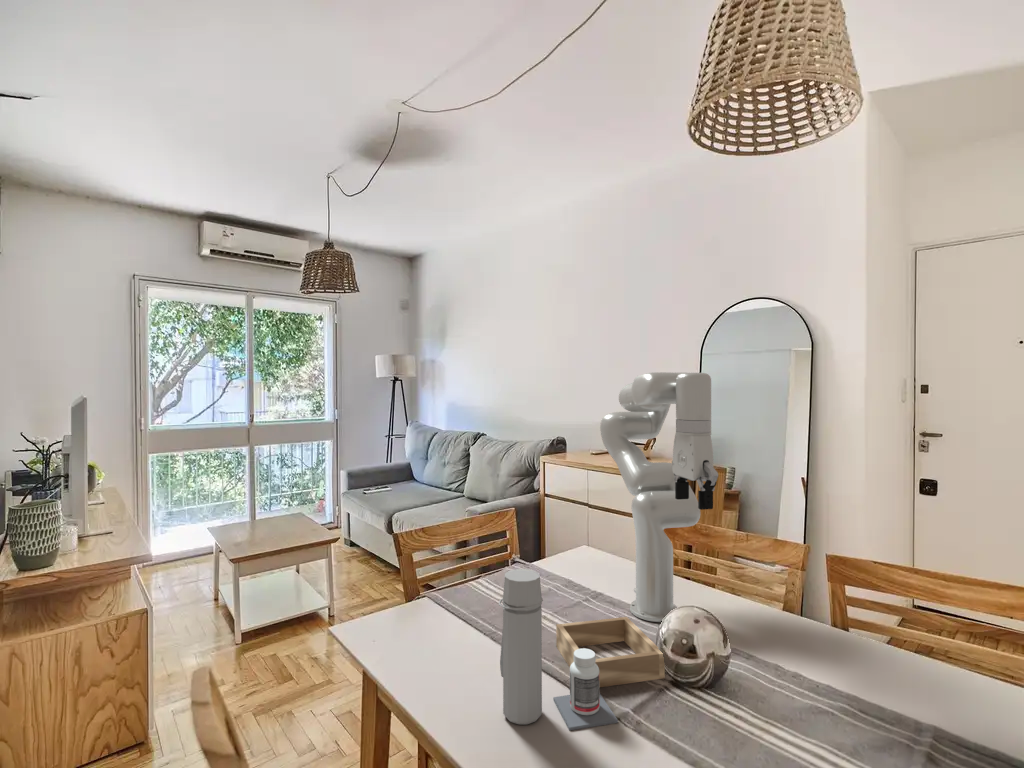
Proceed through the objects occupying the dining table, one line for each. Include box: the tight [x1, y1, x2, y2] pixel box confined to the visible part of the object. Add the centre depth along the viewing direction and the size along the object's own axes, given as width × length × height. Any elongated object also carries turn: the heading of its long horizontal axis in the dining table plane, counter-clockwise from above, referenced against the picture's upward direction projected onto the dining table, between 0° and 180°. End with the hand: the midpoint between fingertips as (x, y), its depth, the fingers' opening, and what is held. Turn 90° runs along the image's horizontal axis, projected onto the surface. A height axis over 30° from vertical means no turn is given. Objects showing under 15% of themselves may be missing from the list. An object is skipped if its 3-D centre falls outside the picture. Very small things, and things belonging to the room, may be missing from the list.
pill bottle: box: [569, 647, 600, 715], centre depth 94 cm, size 5×5×10 cm
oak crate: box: [555, 616, 666, 688], centre depth 111 cm, size 17×17×5 cm
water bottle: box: [498, 568, 544, 725], centre depth 94 cm, size 9×8×25 cm
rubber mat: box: [553, 692, 619, 731], centre depth 94 cm, size 9×9×1 cm
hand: (693, 503), depth 116 cm, fingers open, 9 cm apart
